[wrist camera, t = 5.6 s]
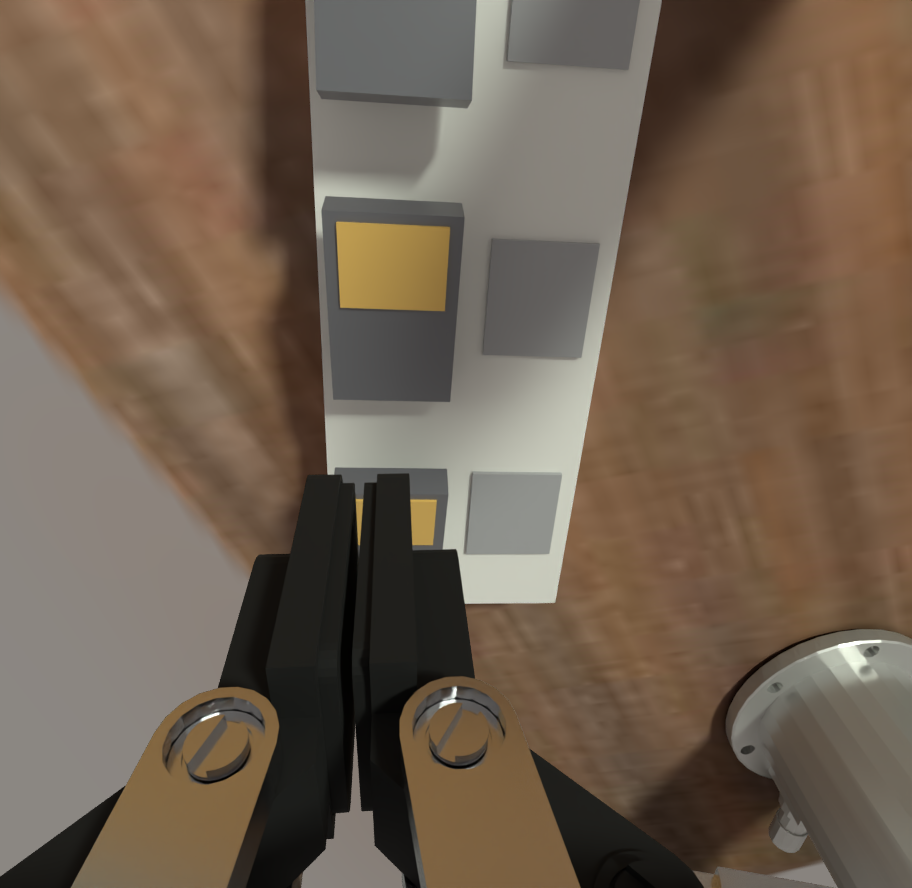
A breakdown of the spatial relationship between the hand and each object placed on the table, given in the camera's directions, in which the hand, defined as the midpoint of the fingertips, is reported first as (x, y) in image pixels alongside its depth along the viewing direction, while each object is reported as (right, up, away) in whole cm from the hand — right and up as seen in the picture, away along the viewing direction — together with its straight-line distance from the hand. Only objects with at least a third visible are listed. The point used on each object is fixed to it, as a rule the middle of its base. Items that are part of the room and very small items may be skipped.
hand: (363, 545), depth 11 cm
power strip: (+2, +7, +14) cm, 16 cm away
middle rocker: (0, +6, +9) cm, 11 cm away
